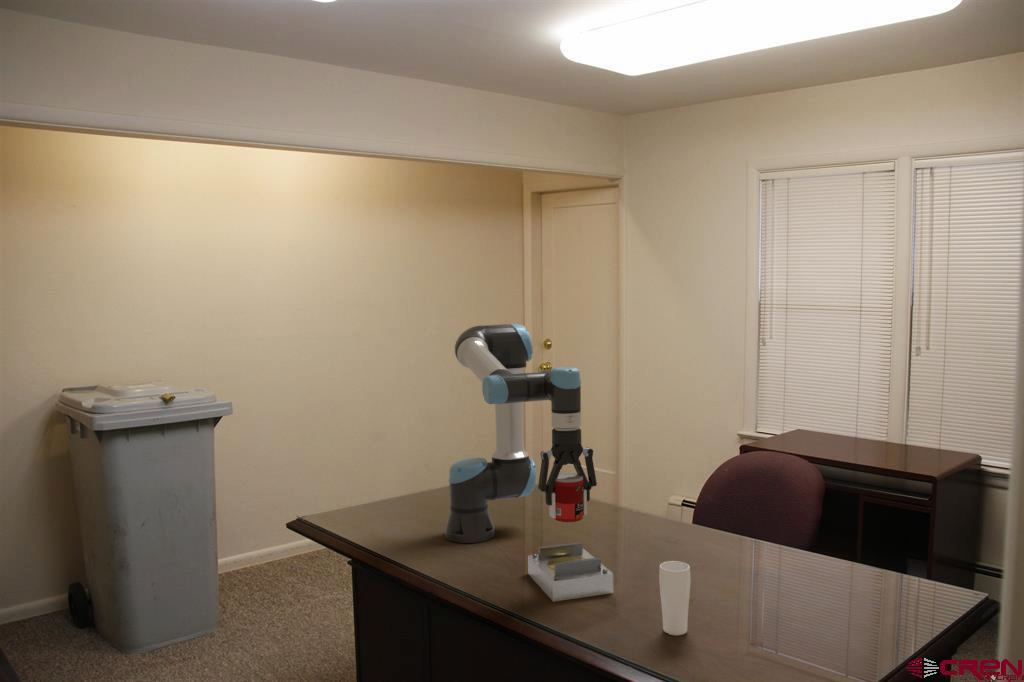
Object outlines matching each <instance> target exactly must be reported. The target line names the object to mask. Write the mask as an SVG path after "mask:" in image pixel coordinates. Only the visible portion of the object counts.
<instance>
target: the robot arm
mask: <svg viewBox="0 0 1024 682" xmlns="http://www.w3.org/2000/svg"><path fill="white" fill-rule="evenodd" d="M532 341H533V340H532V337H531V335H530V333H529V331H528V328H526V327H525V325H523V324H520V323H519V324H518V323H505V324H504V323H503V324H489V325H482V324H481V325H475V326H471V327H469V328H467V329H466V330H464V331H463V332H462V333H460V335H459V336H458V338H457V340H456V341H455V345H454V355H455V357H456V360H457V361H458V362H459V363H460V365H462V366H463V367H465V368H467V369H469V370H470V371H472V373H473V374H474V375H475V377H476V378H477V379H478V380H479V381H480V382H481V383H482V385H481V386H482V388H481V390H482V397H483V399H484V402H485V403H487V404H489V405H494V410H495V415H494V416H495V443H496V444H495V445H496V446H495V449H496V450H495V451H494V452H493V453H492V454H491V461H489V462H488V461H487V459H486V458H483V457H471V458H465V459H461V460H459V461H456V462H455V463H453V464H452V465H451V466H450V468H449V476H448V482H449V483H448V484H449V506H450V507H449V508H450V509H449V510H450V512H449V516H448V518H447V522H446V526H445V532H444V533H445V534H444V537H445V538H446V540H448V541H450V542H453V543H458V544H475V543H481V542H486V541H488V540H490V539H492V538H494V537H495V526H494V522H493V519H492V518H491V515H490V512H489V501H495V500H496V501H497V500H505V499H513V498H515V499H518V498H521V497H527V496H529V495H530V494H532V493H533V491H534V490H535V485H536V482H537V469H536V463H535V461H534V459H532V458H530V453H529V452H527V450H526V449H525V446H524V444H525V442H524V440H525V439H524V438H525V437H524V413H523V412H524V407H523V406H524V404H523V403H526V402H528V403H529V402H541V401H542V402H543V401H550V402H551V403H550V404H551V406H550V407H551V427H552V429H551V443H552V445H551V448H550V450H548V451H541V452H540V453H539V455H540V460H541V463H540V464H541V465H540V471H539V477H538V486H537V488H538V489H539V491H541V492H544V493H545V504H546V505H547V506H548V512H549V513H548V515H549V517H550V518H551V519H553V520H555V518H556V510H555V493H554V492H553V488H554V486H555V483H556V478H558V475H559V473H561V470H562V469H563V467H564V466H566V465H573V467H574V469H575V472H576V474H578V475H579V476H583V502H584V515H583V516H587V515H588V504H587V503H588V502H589V501H590V499H591V496H590V494H591V493H590V491H591V489H592V488H593V487H597V485H598V484H597V477H596V471H595V466H594V459H593V456H594V450H593V449H592V448H591V447H588V446H587V447H583V445H582V429H581V426H582V410H581V409H582V408H581V407H582V406H581V403H582V402H581V401H582V399H581V398H582V397H581V396H582V395H581V394H582V393H581V391H582V390H581V386H582V381H581V371H580V369H578V368H577V367H574V366H573V367H571V366H559V367H558V366H557V367H554V368H553V367H552V369H550V370H549V369H548V370H547V369H545V370H544V369H543V370H540V371H538V372H525V373H523V372H524V371H525V370H526V369H527V362H529V361H531V360H532V359H533V358H532V357H533V353H534V349H533V342H532ZM582 455H583V456H584V461H585V468H586V472H584V469H583V467H582V463H581V461H580V457H581V456H582ZM551 457H553V458H554V460H553V465H552V469H551V471H550V474H549V476H548V473H549V468H550V460H551V459H552V458H551ZM585 473H587V475H586V474H585Z"/></svg>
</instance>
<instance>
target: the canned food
mask: <svg viewBox="0 0 1024 682" xmlns="http://www.w3.org/2000/svg"><path fill="white" fill-rule="evenodd" d="M553 492H554V493H555V510H556V518H555V519H554V520H556V521H558V522H562V523H575V522H580V521H581V520H583V519H584V516H585V515H584V502H583V476H579V475H578V474H577V472H576V473H575V472H559V475H558V478H556V483H555V486H554V488H553Z"/></svg>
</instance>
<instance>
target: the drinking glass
mask: <svg viewBox="0 0 1024 682" xmlns="http://www.w3.org/2000/svg"><path fill="white" fill-rule="evenodd" d="M658 570H659V571H658V574H659V577H658V579H659V583H658V584H659V593H660V594H659V595H660V603H661V614H662V630H663V632H664V633H666V634H667V633H668V634H667V635H671V636H682V635H685V634H687V632H688V619H689V618H688V617H689V606H690V605H689V604H690V594H691V567H690V565H689V563H686V562H684V561H678V560H667V561H664V562H661V563H660V564H659V569H658Z"/></svg>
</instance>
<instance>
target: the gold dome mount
mask: <svg viewBox="0 0 1024 682" xmlns="http://www.w3.org/2000/svg"><path fill="white" fill-rule="evenodd" d="M537 547H538V546H537ZM537 549H538V550H537V553H532V554H530V555H527V571H528V573H527V574H528V575H529V577H531V579H532V580H533V581H534V582H535V584H537V585H538V586H539V587H540V588H541V590H542V591H543V592H544V593H545V594H546V595H547V597H549V599H550V600H551V601H552V602H560V601H567V600H573V599H583V598H588V597H596V596H601V595H608V594H614V573H613V572H612V571H611V570H610V569H609V568H607V567H606V566H605V565H604V564H603V563H602V558H601V557H594V556H593V555H592V554H590V552H588V551H587V550H586V549H584V548H583V543H582V542H581V541H577V542H571V543H561V544H555V545H554V544H552V545H545V546H539V547H538V548H537Z"/></svg>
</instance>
